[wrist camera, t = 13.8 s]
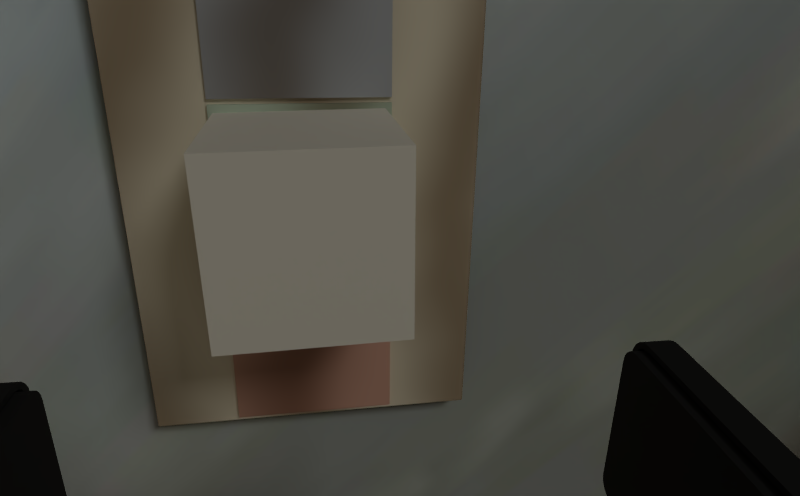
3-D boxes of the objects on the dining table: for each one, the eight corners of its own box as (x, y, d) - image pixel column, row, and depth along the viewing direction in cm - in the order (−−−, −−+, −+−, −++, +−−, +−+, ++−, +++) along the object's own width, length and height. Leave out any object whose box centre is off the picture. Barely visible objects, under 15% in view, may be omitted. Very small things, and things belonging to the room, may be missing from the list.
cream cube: (385, 107, 22) (416, 145, 16) (386, 261, 24) (414, 339, 19) (212, 112, 21) (183, 153, 16) (230, 271, 23) (211, 356, 18)
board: (484, -107, 21) (494, -112, 20) (456, 386, 28) (462, 401, 27) (76, -124, 19) (64, -131, 18) (163, 411, 26) (158, 428, 25)
